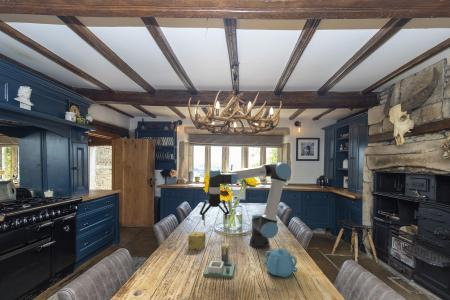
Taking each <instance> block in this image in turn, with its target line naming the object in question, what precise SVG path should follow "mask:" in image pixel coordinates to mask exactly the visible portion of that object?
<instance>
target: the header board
mask: <svg viewBox="0 0 450 300" xmlns="http://www.w3.org/2000/svg"><path fill="white" fill-rule="evenodd" d="M235 267H236V261H229V260H228V261H221V260H215V259H212V260H211V259H209V262H208V263H207V267H205V270H204V272H203V277H207V278H208V277H209V278H220V279H221V278H222V279H233V276H234V272H235Z"/></svg>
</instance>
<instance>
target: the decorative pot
mask: <svg viewBox="0 0 450 300" xmlns="http://www.w3.org/2000/svg"><path fill="white" fill-rule="evenodd" d="M268 253H269V256H268ZM264 257H265V261H264V265H266V269H267V271H268V273H269V274H271V275H273V276H276V277H281V278H283V279H284V278H287V277H289V276H291V275H292V273H297V272H298V268H297V267H296V265H297V262H298V261H297V258H296V257H295V255H294V256H293V255H292V254H291V253H290V252H289V251H288V250H287V249H283V248H278V249H277V248H276V249H273V250H267V251H266V252H265V256H264Z"/></svg>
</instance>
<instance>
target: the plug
mask: <svg viewBox="0 0 450 300" xmlns="http://www.w3.org/2000/svg"><path fill="white" fill-rule="evenodd" d="M229 250H230V244H229V243H222V244H221V259H220V261H229V260H230V259H229V258H230V253H229V252H230V251H229Z"/></svg>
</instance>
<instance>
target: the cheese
mask: <svg viewBox="0 0 450 300" xmlns="http://www.w3.org/2000/svg"><path fill="white" fill-rule="evenodd" d="M206 238H207V237H206V232H204V231H203V232H201V231H200V232H197V231H192V232H191V233H190V234H189V235H188V238H187V239H188V242H187V243H188V244H187V248H188V250H197V251H203V248H204V247H205V245H206Z"/></svg>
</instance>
